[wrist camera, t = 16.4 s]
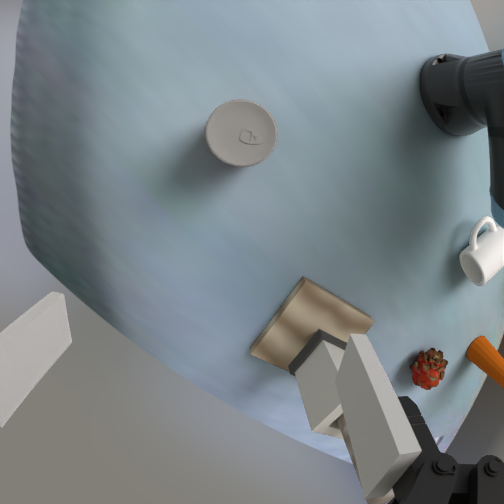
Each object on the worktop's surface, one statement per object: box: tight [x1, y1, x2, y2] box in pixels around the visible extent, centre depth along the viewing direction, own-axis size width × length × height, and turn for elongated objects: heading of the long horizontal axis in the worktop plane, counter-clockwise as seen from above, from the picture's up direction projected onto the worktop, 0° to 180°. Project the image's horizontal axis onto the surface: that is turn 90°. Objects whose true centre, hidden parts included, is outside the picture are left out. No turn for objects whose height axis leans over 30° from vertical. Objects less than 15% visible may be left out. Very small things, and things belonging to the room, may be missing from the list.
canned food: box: [205, 100, 277, 167], centre depth 37 cm, size 8×8×11 cm
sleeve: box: [295, 340, 345, 439], centre depth 39 cm, size 7×7×12 cm
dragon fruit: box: [410, 348, 448, 390], centre depth 56 cm, size 8×8×12 cm
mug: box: [459, 216, 504, 286], centre depth 47 cm, size 12×10×8 cm
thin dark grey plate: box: [288, 329, 347, 376], centre depth 46 cm, size 8×8×2 cm
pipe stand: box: [250, 277, 395, 504], centre depth 38 cm, size 16×16×34 cm
